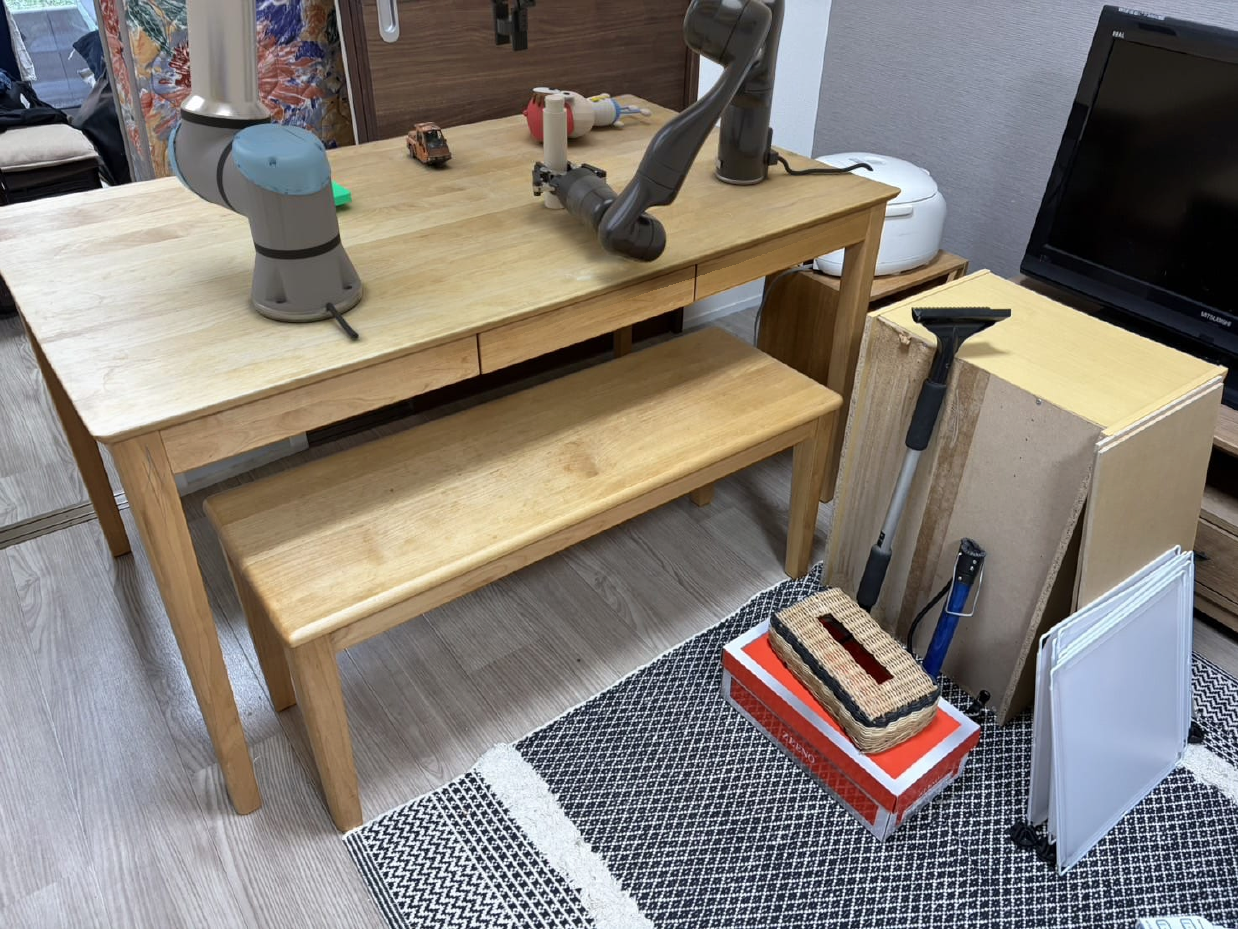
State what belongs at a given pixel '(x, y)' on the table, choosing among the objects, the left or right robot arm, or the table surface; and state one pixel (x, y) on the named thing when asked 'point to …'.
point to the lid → (504, 25)
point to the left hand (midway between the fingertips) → (511, 46)
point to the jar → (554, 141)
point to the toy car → (428, 144)
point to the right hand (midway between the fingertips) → (549, 165)
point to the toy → (577, 112)
